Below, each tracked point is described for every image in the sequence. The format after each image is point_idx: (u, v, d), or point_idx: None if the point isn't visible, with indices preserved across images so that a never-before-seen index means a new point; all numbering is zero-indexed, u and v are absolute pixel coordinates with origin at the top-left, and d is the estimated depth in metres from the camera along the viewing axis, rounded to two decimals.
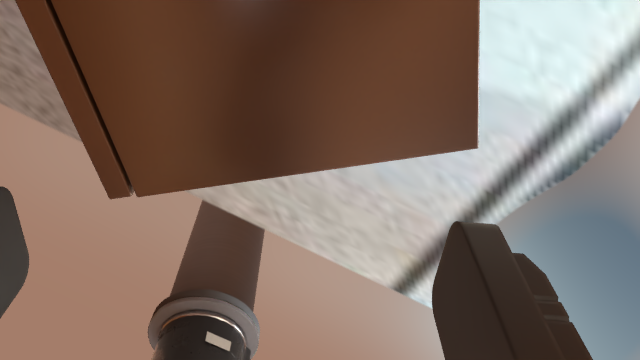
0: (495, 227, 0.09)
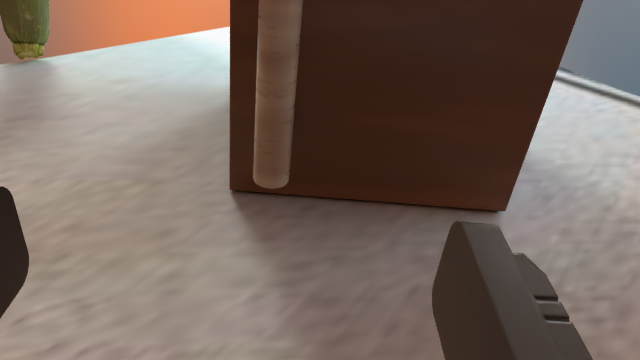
0: (495, 227, 0.09)
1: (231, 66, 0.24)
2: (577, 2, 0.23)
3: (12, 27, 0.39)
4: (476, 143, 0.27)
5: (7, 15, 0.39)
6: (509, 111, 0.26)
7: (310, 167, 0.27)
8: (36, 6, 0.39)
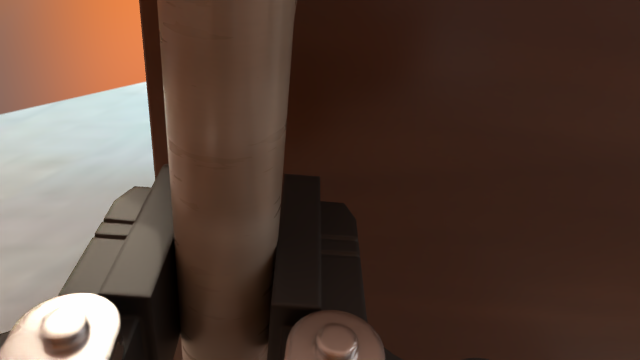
0: (319, 178, 0.10)
1: None
2: None
3: None
4: (585, 335, 0.16)
5: None
6: None
7: None
8: None
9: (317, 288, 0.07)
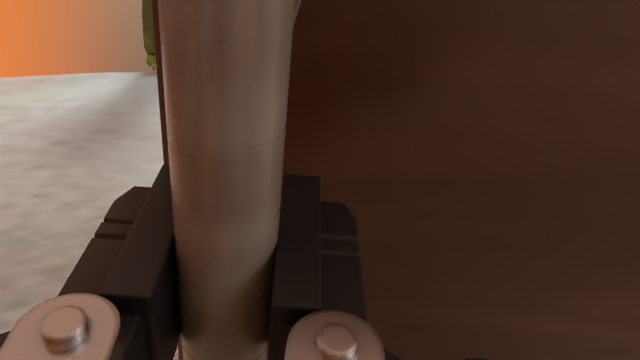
0: None
1: None
2: None
3: (148, 39, 0.40)
4: (596, 347, 0.15)
5: (146, 27, 0.40)
6: None
7: None
8: None
9: (317, 288, 0.07)
